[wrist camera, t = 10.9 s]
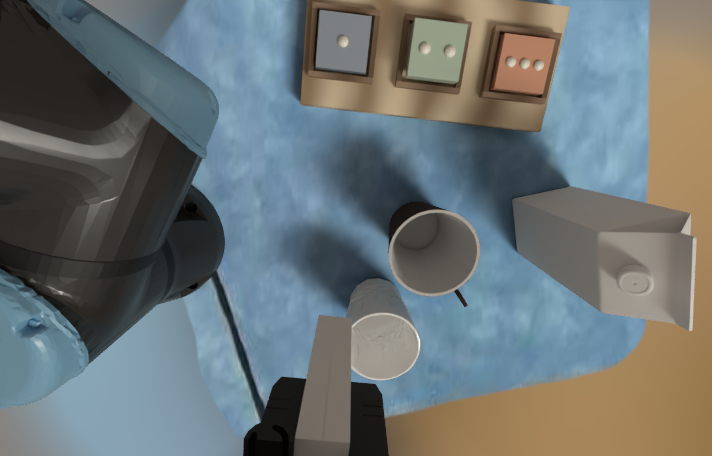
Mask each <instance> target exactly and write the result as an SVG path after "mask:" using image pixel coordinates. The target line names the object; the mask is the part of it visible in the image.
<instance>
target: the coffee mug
mask: <svg viewBox="0 0 712 456" xmlns="http://www.w3.org/2000/svg"><path fill="white" fill-rule="evenodd" d="M388 255H389V264H390V268H391V271H392V273H393V275H394V277H395V278H396V279H397V281H398V282H399V283H400V284H401V285H402V286H403V287H405V288H406V289H407V290H409V291H411V292H413V293H416V294H419V295H423V296H440V295H444V294H448V293H450V292H452V291H455V293H456V295H457V296H458V298H459V299H460V301H461V302H462V304H463V305H464V307H466V306H468V305H467V303H466V302H465V300H464V298H463V296H462V295H461V293H460V292H459V290H458V288H459V287H461V286H462V285H464V284H465V283H466V282H467V281H468V280H469V279H470V277H471V276H472V274H473V273H474V271H475V269H476V267H477V265H478V262H479V257H480V244H479V239H478V236H477V234H476V232H475V230H474V228H473V227H472V226H471V224H470V223H469V222H468V221H467V220H465V219H464V218H463V217H461V216H460V215H458V214H456V213H453V212H450V211H448V210H445V209H442V208H439V207H436V206H433V205H430V204H427V203H424V202H410V203H407V204H405V205H403V206H401V207H400V208H399V209H398V210H397V211H396V212H395V213H394V215H393V216H392V219H391V221H390V229H389V252H388Z"/></svg>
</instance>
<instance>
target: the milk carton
mask: <svg viewBox="0 0 712 456" xmlns="http://www.w3.org/2000/svg"><path fill="white" fill-rule="evenodd" d="M512 204H513V214H514V224H515V234H516V245H517V252H518V254H520V255H521V256H522V257H524V258H525V259H527V260H528V261H530V262H531V263H532V264H534V265H535V266H537V267H538V268H539V269H541V270H542V271H544V272H545V273H546V274H548V275H549V276H551V277H552V278H554V279H555V280H556V281H558V282H559V283H561V284H562V285H563V286H565V287H566V288H568V289H569V290H570V291H572V292H573V293H575V294H576V295H578V296H579V297H580V298H582V299H583V300H585V301H586V302H587V303H589V304H590V305H592V306H593V307H594V308H596V309H597V310H599V311H600V312H602V313H607V314H614V315H620V316H627V317H634V318H641V319H648V320H655V321H662V322H669V323H675V324H678V325H679V326H681V327H683V328H685V329H686V330H688V331H692V326H693V325H692V324H693V304H694V280H695V258H696V257H695V256H696V237H694V236H691V235H690V229H691V228H690V227H691V213H687V212H682V211H678V210H674V209H669V208H665V207H661V206H656V205H652V204H647V203H643V202H639V201H634V200H630V199H625V198H621V197H616V196H612V195H608V194H603V193H599V192H594V191H590V190H586V189H581V188H577V187H572V186H571V187H566V188H561V189H557V190H552V191H547V192H542V193H538V194H533V195H528V196H523V197H519V198H514V199H512Z"/></svg>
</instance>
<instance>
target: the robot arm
mask: <svg viewBox="0 0 712 456" xmlns="http://www.w3.org/2000/svg"><path fill="white" fill-rule="evenodd" d="M218 115H219V105H218V101H217V99H216V96H215V95H214V93H213V91H212V90H211V89H210V88H209V87H208V86H207V85H206V84H205V83H203V82H202V81H201V80H199V79H198V78H197V77H195V76H194V75H193V74H191V73H190V72H188V71H187V70H186V69H184V68H183V67H181V66H180V65H178V64H177V63H176V62H174V61H173V60H171V59H170V58H168V57H167V56H165V55H164V54H163V53H161V52H160V51H158V50H157V49H155V48H154V47H152V46H151V45H149V44H148V43H146V42H145V41H143V40H142V39H141V38H139V37H138V36H136V35H135V34H133V33H132V32H130V31H129V30H127V29H126V28H124V27H123V26H121V25H120V24H119V23H117V22H116V21H114V20H113V19H111V18H110V17H108V16H107V15H105V14H104V13H102V12H101V11H99V10H98V9H96V8H95V7H93V6H92V5H90V4H89V3H87V2H86V1H84V0H0V409H2V408H9V407H13V406H22V405H28V404H31V403H33V402H36V401H38V400H41V399H43V398H44V397H46V396H47V395H49V394H51V393H52V392H53V391H55V390H56V389H58V388H59V387H60V386H62V385H63V384H65V383H66V382H67V381H69V380H70V379H72V378H74V377H76V376H78V375H79V374H81V373H82V372H83V371H84V369H85V368H86V367H87V366H88V364H89V363H91V362H92V361H93V360H94V359H95V358H96V357H97V356H99V355H100V354H101V353H102V352H103V351H104V350H105V349H107V348H108V347H109V346H110V345H111V344H112V343H114V342H115V341H116V340H117V339H118V338H119V337H121V336H122V335H123V334H124V333H125V332H126V331H127V330H129V329H130V328H131V327H132V326H133V325H134V324H136V323H137V322H138V321H139V320H140V319H141V318H142V317H144V316H145V315H146V314H147V313H148V312H149V311H150V310H152V309H153V308H154V307H155V306H156V305H157V304H161V303H164V302H168V301H171V300H175V299H178V298H182V297H184V296H187V295H189V294H191V293H193V292H194V291H196V290H197V289H199V288H200V287H201V286H202V285H203V284H204V283H205V282H207V281H208V280H209V279H210V278H211V277H212V275H213V274H214V273H215V272H216V270H217V269H218V267H219V265H220V263H221V260H222V257H223V253H224V246H225V238H224V231H223V227H222V224H221V221H220V218H219V216H218V214H217V212H216V211H215V209H214V207H213V206H212V205H211V203H210V202H209V201H208V200H207V199H206V197H205V196H204V195H202V194H201V193H200V192H199V191H198V190H197V189H195V188H194V187H192V186H191V183H192V181H193V178H194V176H195V174H196V172H197V170H198V167H199V165H200V163H201V161H202V159H203V158H204V159H205V158H206V156H207V151H206V148H207V145H208V142H209V140H210V137H211V134H212V132H213V129H214V127H215V124H216V121H217V119H218ZM351 331H352V318H344V317H333V316H323V315H319V318H318V323H317V328H316V333H315V338H314V343H313V348H312V353H311V359H310V364H309V369H308V374H307V379H302V378H291V377H281V378H280V379H279V380H278V381H277V382H276V383H275V384H274V385H273V387H272V390H271V393H270V396H269V400H268V403H267V406H266V409H265V412H264V415H263V418H262V421H261V423H259V424H257V425H255V426H254V427H253V428H251V429H250V430H249V431H248V433H247V434H246V436H245V438H244V454H243V456H389V455H388V446H387V437H386V427H385V418H384V409H383V399H382V394H381V392H380V391H379V389H378V387H377V386H376V384H368V383H357V382H351Z"/></svg>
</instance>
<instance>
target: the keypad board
mask: <svg viewBox="0 0 712 456" xmlns="http://www.w3.org/2000/svg"><path fill="white" fill-rule="evenodd" d="M320 10H326V11H334V12H341V13H349V14H357V15H365V16H372V21H371V30H370V39H369V48H368V57H367V67H366V75H358V74H350V73H341V72H333V71H325V70H317V68H316V54H317V40H318V27H319V13H320ZM569 10H570V7H567V6H559V5H551V4H543V3H536V2H528V1H520V0H307V10H306V25H305V41H304V57H303V72H302V88H301V103H300V104H302V105H303V106H312V107H321V108H329V109H338V110H346V111H355V112H364V113H372V114H381V115H389V116H398V117H407V118H415V119H424V120H432V121H441V122H449V123H458V124H467V125H475V126H484V127H492V128H501V129H510V130H518V131H527V132H540V130H541V126H542V122H543V118H544V114H545V110H546V105H547V101H548V97H549V93H550V89H551V85H552V81H553V76H554V72H555V68H556V64H557V60H558V56H559V51H560V47H561V43H562V39H563V35H564V31H565V26H566V22H567V18H568V14H569ZM415 18H422V19H430V20H438V21H445V22H453V23H461V24H468V29H467V35H466V40H465V46H464V52H463V58H462V63H461V69H460V75H459V81H458V82H457V83H455V84H449V83H441V82H432V81H424V80H416V79H408V78H405V75H406V68H407V61H408V53H409V46H410V39H411V31H412V24H413V21H414V19H415ZM505 33H508V34H516V35H524V36H532V37H540V38H548V39H556V40H555V44H554V48H553V53H552V57H551V61H550V65H549V70H548V74H547V78H546V82H545V87H544V91H543V94H541V95H536V96H533V95H525V94H516V93H508V92H500V91H491V90H489V86H490V81H491V76H492V71H493V66H494V61H495V55H496V50H497V45H498V40H499V37H500V36H502V35H503V34H505Z"/></svg>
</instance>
